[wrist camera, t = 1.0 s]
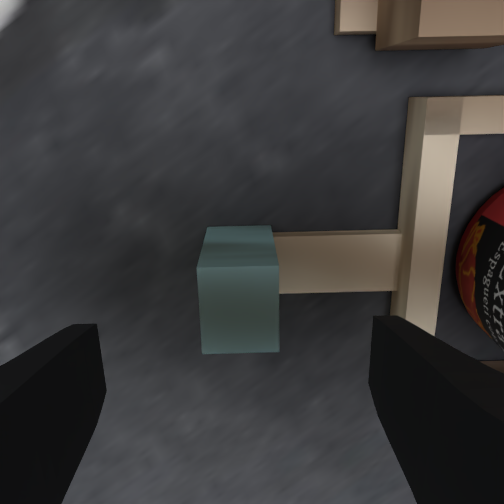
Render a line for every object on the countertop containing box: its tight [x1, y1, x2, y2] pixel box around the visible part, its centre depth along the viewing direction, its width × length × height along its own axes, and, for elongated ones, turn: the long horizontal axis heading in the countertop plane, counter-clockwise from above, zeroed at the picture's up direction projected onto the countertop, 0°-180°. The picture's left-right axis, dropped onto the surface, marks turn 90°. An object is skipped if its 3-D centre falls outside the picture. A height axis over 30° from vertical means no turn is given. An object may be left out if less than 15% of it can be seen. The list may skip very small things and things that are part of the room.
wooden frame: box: [197, 95, 504, 373], centre depth 17 cm, size 12×20×4 cm, turn 91°
